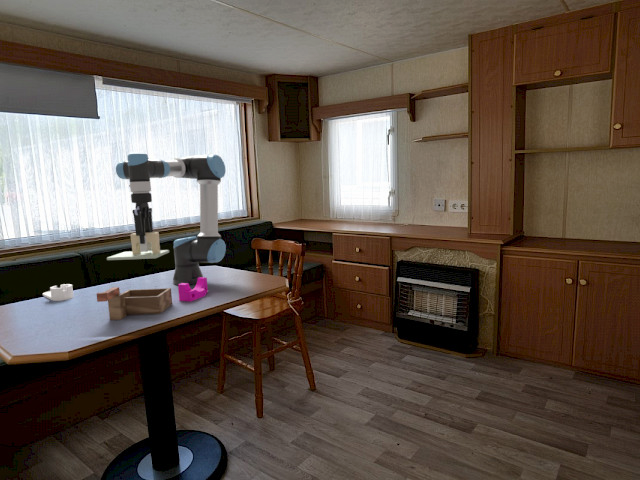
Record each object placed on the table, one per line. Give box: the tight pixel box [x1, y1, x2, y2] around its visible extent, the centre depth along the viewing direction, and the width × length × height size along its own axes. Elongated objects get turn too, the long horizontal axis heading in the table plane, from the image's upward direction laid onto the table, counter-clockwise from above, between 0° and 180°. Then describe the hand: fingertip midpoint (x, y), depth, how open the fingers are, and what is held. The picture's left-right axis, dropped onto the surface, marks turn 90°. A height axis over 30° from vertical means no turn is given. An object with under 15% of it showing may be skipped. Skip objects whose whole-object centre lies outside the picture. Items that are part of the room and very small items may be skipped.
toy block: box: [177, 276, 209, 303], centre depth 192 cm, size 15×6×8 cm, turn 157°
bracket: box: [42, 283, 75, 302], centre depth 200 cm, size 20×9×7 cm, turn 49°
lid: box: [106, 231, 170, 261], centre depth 171 cm, size 15×19×9 cm
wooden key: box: [96, 286, 120, 303], centre depth 158 cm, size 11×3×3 cm, turn 0°
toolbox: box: [107, 287, 173, 321], centre depth 172 cm, size 20×18×9 cm
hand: (146, 250), depth 172 cm, fingers closed on lid, 3 cm apart
